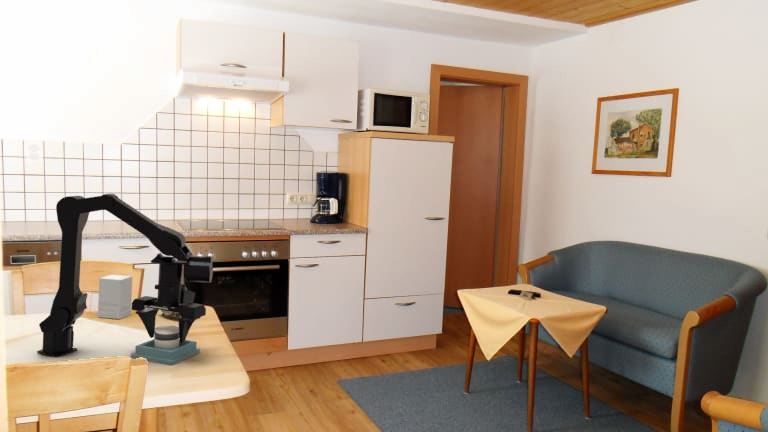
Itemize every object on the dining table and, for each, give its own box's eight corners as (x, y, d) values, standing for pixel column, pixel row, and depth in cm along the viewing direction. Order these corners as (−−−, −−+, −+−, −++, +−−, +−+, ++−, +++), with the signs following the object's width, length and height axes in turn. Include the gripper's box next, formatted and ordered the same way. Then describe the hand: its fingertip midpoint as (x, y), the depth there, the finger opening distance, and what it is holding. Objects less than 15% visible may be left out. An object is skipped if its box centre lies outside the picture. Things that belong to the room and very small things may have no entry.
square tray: (171, 365, 143) (172, 353, 143) (130, 357, 147) (131, 346, 146) (199, 352, 155) (200, 341, 155) (161, 345, 158) (162, 335, 158)
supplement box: (131, 314, 188) (133, 276, 188) (119, 319, 181) (121, 279, 180) (110, 312, 189) (111, 274, 188) (96, 317, 182) (98, 277, 181)
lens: (169, 356, 147) (170, 333, 146) (148, 352, 149) (149, 329, 148) (183, 350, 153) (185, 327, 152) (163, 346, 155) (165, 324, 154)
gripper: (219, 280, 155) (215, 338, 156) (159, 272, 160) (156, 328, 161) (194, 286, 144) (190, 348, 145) (131, 278, 149) (128, 337, 150)
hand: (166, 340), depth 150 cm, fingers open, 9 cm apart
